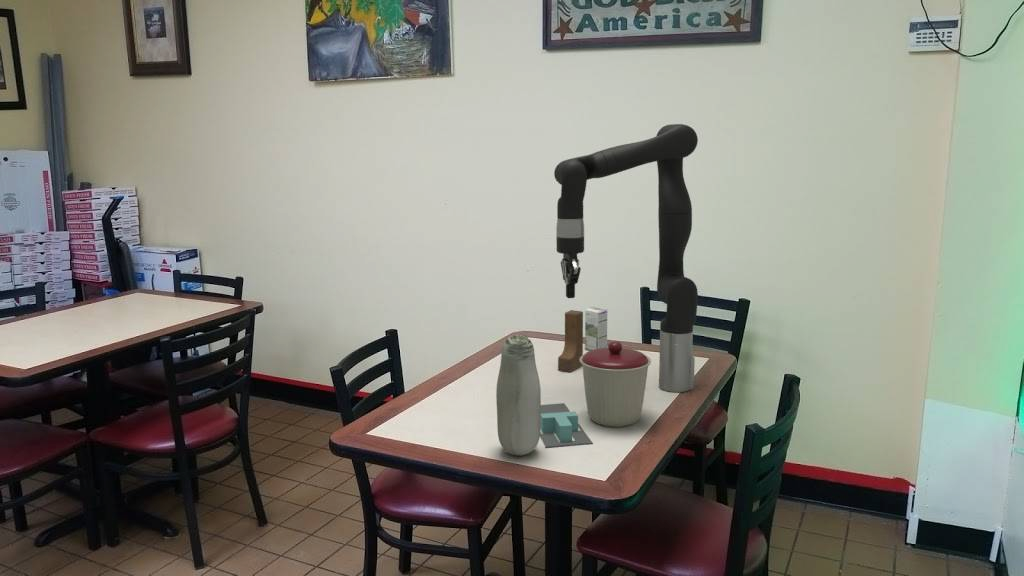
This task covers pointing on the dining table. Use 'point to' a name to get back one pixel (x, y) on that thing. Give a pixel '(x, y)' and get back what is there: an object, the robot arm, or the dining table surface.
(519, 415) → the glass bottle
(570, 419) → the t block
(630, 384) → the canister
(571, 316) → the wooden block
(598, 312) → the syrup box
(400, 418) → the dining table surface
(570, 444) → the mat
